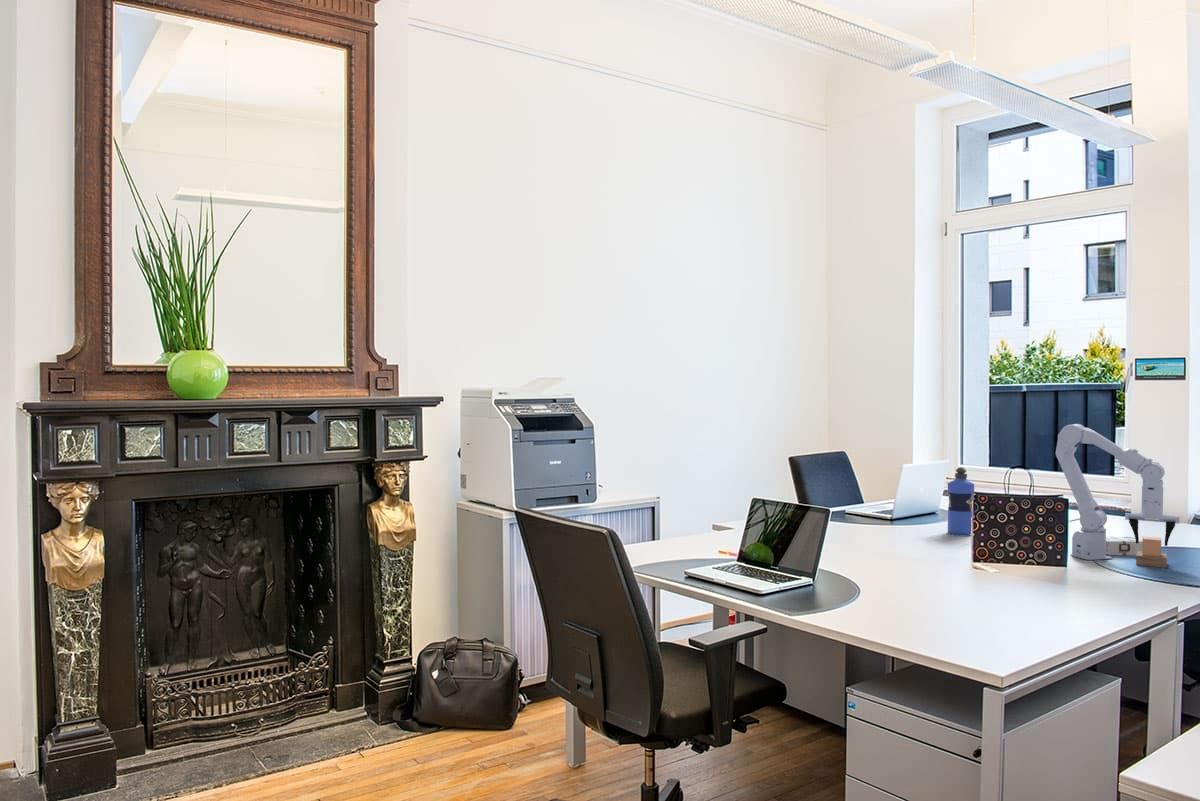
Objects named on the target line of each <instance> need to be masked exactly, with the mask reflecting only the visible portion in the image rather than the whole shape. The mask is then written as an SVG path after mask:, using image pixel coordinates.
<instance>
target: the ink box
mask: <svg viewBox="0 0 1200 801" xmlns="http://www.w3.org/2000/svg"><path fill="white" fill-rule="evenodd" d="M1142 540H1143V539H1142ZM1142 540H1141V539H1139V543H1136V539H1135V537H1131V536H1106V556H1136V555H1137V551H1140V552H1142Z"/></svg>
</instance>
